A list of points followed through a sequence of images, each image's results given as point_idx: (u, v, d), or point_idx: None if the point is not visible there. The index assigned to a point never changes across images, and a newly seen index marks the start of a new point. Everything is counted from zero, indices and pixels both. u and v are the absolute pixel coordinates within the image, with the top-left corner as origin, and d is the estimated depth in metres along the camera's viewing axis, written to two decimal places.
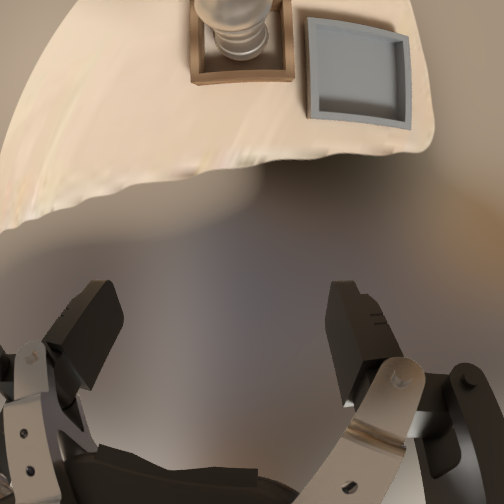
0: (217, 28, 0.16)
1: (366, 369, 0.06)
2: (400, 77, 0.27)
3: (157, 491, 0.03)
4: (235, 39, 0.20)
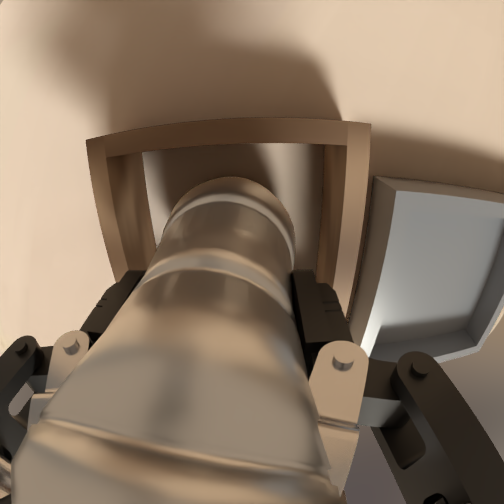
0: None
1: (312, 352, 0.06)
2: (497, 276, 0.15)
3: None
4: None
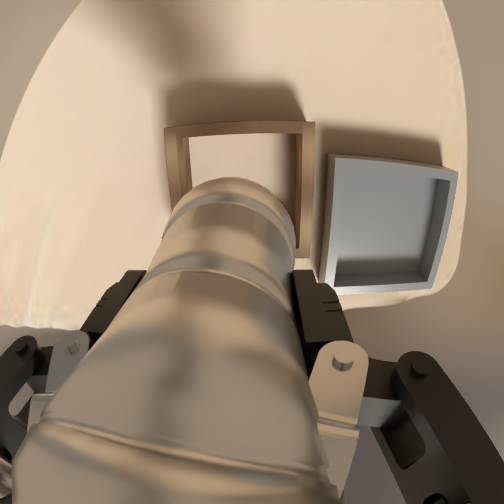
0: None
1: (312, 352, 0.06)
2: (434, 225, 0.25)
3: None
4: None
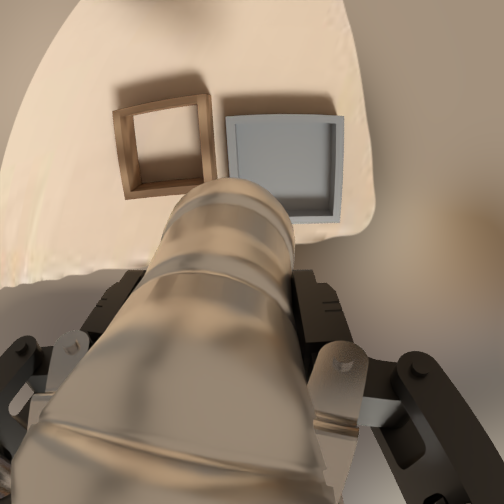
0: None
1: (311, 352, 0.06)
2: (332, 165, 0.33)
3: None
4: None
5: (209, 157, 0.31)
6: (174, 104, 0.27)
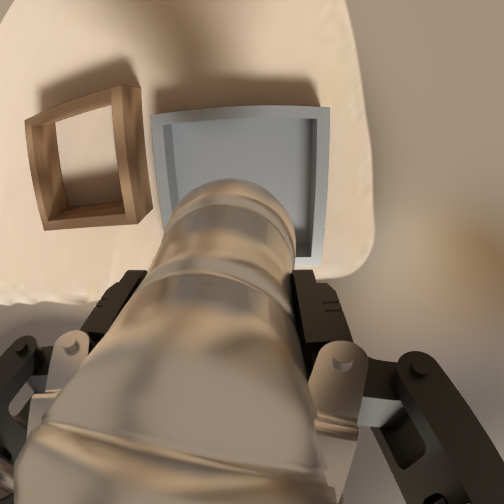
0: None
1: (312, 352, 0.06)
2: (312, 182, 0.23)
3: None
4: None
5: (128, 176, 0.20)
6: (85, 104, 0.17)
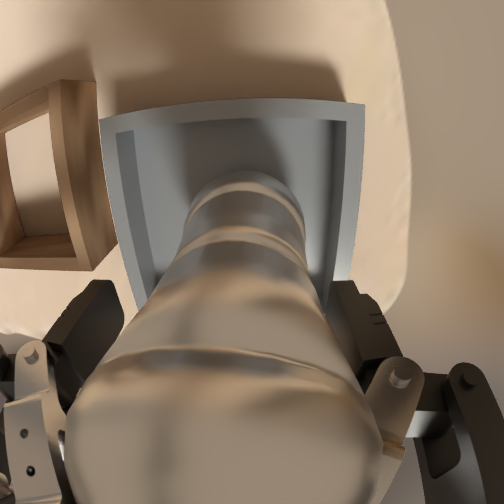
0: None
1: (365, 369, 0.06)
2: (333, 212, 0.16)
3: None
4: None
5: (74, 207, 0.13)
6: (21, 111, 0.10)
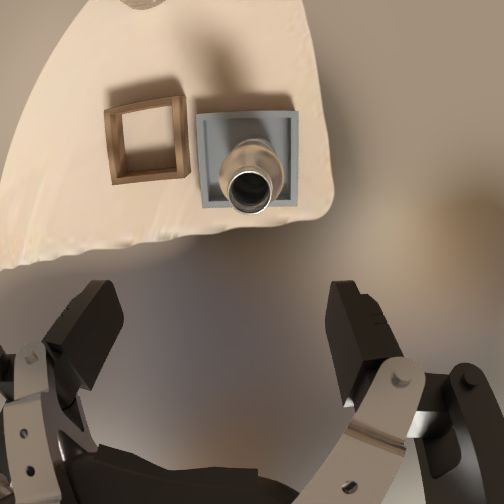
0: None
1: (366, 369, 0.06)
2: (290, 154, 0.38)
3: (157, 491, 0.03)
4: (250, 192, 0.31)
5: (181, 148, 0.35)
6: (153, 104, 0.32)
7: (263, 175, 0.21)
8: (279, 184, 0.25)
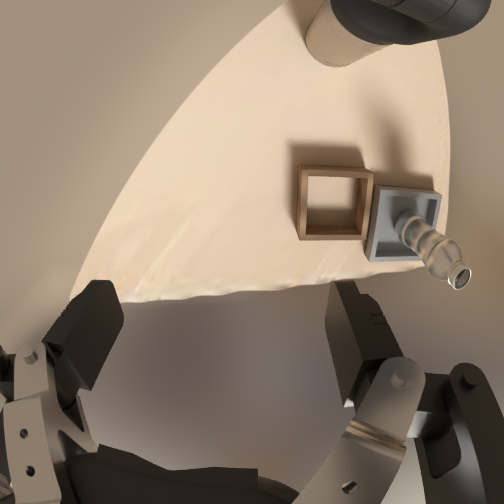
0: (433, 276, 0.36)
1: (366, 369, 0.06)
2: None
3: (157, 491, 0.03)
4: None
5: (368, 217, 0.44)
6: (352, 176, 0.40)
7: None
8: None
